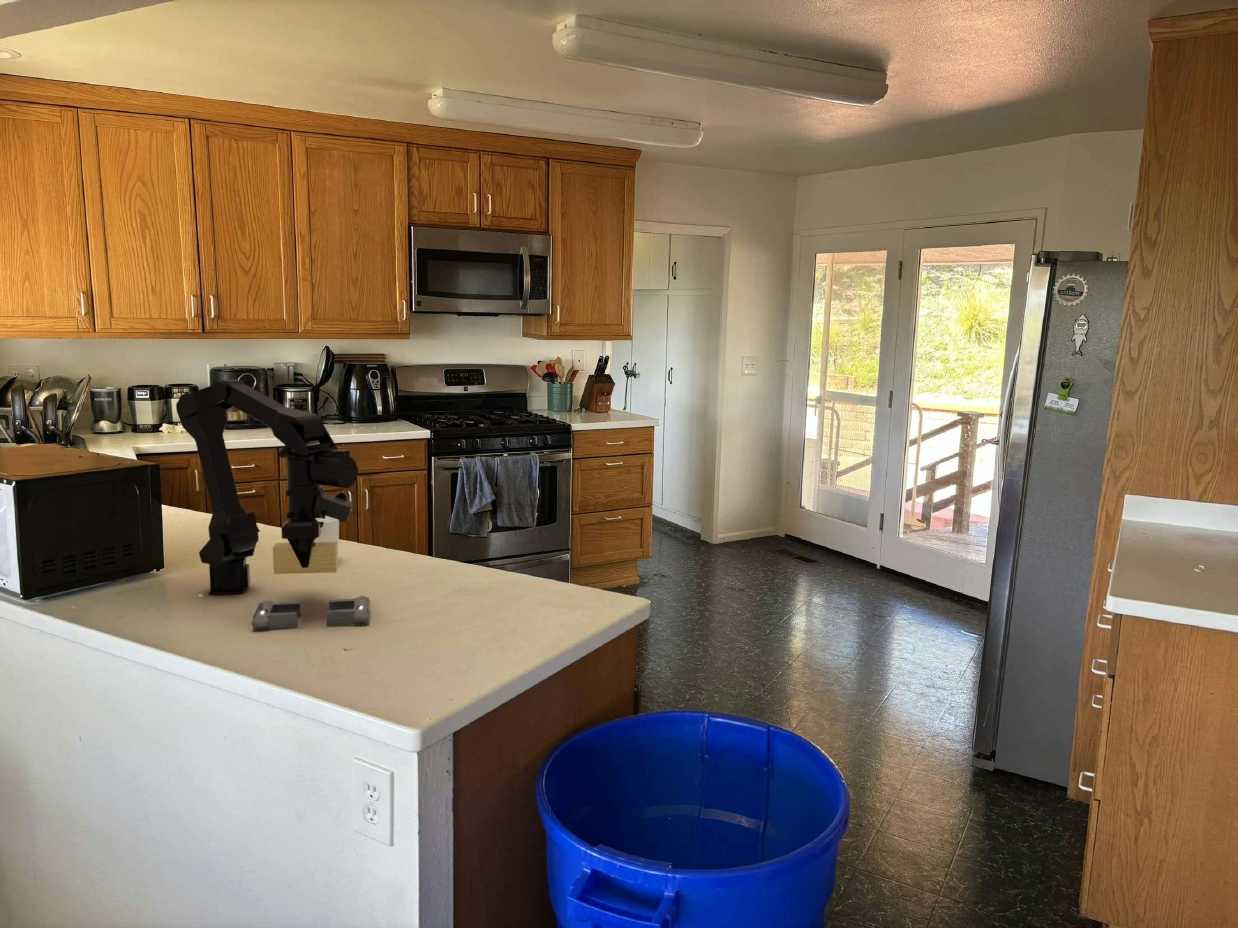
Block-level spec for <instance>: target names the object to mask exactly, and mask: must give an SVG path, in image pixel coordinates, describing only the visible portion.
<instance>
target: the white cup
mask: <svg viewBox="0 0 1238 928" xmlns="http://www.w3.org/2000/svg"><path fill="white" fill-rule="evenodd" d="M316 520H317V521H318V522H324V524H323V526H322V527H321V528H320V531H321V533H320V536H319V537H318V538H316V539H315V540H314V542H338V543H340V542H339V541H340V540H339V539H340V537H339V536H340V535H339V534H340V521H339V520H338V519H335V518H331V517H328V516H326V517H325V519H322V518H316Z"/></svg>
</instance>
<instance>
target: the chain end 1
mask: <svg viewBox="0 0 1238 928" xmlns="http://www.w3.org/2000/svg"><path fill="white" fill-rule="evenodd" d="M301 603H302V602H301V601H282V602H281V601H280V602H279V601H278V602H277V601H276V602H275V601H272V600H269V599H268V600H266V599H265V600H263V601H262V602H259V603H258V604H257V607H256V609H255V612H254V613H253V615H252V621H251V626H252V629H253V630H252V631H253V632H262V631H263V632H264V631H269V630H281V629H282V630H283V629H297V628H298V618H300V617H301V616H302V611H301V610H302V607H301Z"/></svg>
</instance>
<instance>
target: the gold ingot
mask: <svg viewBox="0 0 1238 928" xmlns="http://www.w3.org/2000/svg"><path fill="white" fill-rule="evenodd" d="M272 555H273V556H272V561H273V562H272V563H273V565H272V566H273V575H281V574H283V575H284V574H285V575H289V574H320V573H321V574H327V573H328V574H329V573H337V571H338V570H339V569H338V568H339V542H313V543H312V548H311V554H310V560H309V566H308V567H307V568H302V566H301V565H300V563H299V561H298V559H297V557H296V555H295V553H294V551H293V549H292V547H291V545H290V543H289V542H276V543H275V544H274V546H273V547H272Z"/></svg>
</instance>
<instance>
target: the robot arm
mask: <svg viewBox="0 0 1238 928" xmlns="http://www.w3.org/2000/svg"><path fill="white" fill-rule="evenodd" d="M180 395H181V396H180V397H179V398H178V401H177V402H176V405H175V408H176V413H177V416H178V418H179V421H180V423H181V426H182V428H183V429H184V430H185V431H186V432H187V434H189V435H190V436H191V438H192V439H194V441H195V445H196V448H197V452H198V457H199V460H200V464H201V465H200V466H201V468H202V472H203V477H204V481H205V484H206V489H207V492H208V497H209V500H210V505H211V508H212V515H211V518H210V522H209V524H208V529H207V530H208V537H209V540H208V541H207V542H206V544H204V545H203V547H202V548H201V549H200V551H199V552H198V554H199V559H200V561H201V563H202V564H206V565H209V566H208V569H209V590H208V593H207V594H208V595H213V596H214V595H232V594H244V593H245V592H246V590H247V589H248V588H249V586H250V585H251V572H250V564H249V563H247V558H249V557H253V556H254V554H255V550H256V546H257V543H258V542H259V533H260V529H259V526H258V524H257V518H256V515H255V513H254V512H253V511H252V512H248V511H246V510H245V509H244V508H243V507H242V505H241V503H240V499H239V495H238V490H237V486H236V482H235V478H234V474H233V471H232V466H231V463H230V458H229V455H228V451H227V447H226V442H225V438H224V432H225V428H226V425H227V422H228V413H227V412H228V411H230V410H231V409H233V408H235V409H237V410H239V411H240V412H242V413H244V414H246V415H247V416H249V417H251V418H253V419H254V420H256V421H259V422H260V423H261V424H264V425H265V426H267V427H268V428H270V430H271V432H272V435H273V436H274V437H275V438H276V439H277V440H278V441H280V442H281V443H282V444H283V445H284V447H283V448H282V449H280V451H278V452H277V454H276V455H277V457H278V458H283V459H286V475H287V476H286V477H287V489H286V491H285V492H286V493H285V494H286V495H285V496H286V497H287V512H286V518H287V520H286V521H285V522H284V523H283V524H282V526H281V539H283V540H286V541H288V543H290V545H291V547H292V549H293V551H294V553H295V555H296V557H297V559H298V561H299V563H300V565H301V566H302V568H307V567H308V566H309V560H310V554H311V548H312V543H313V542H314V540H315V539H316V538H318V537H319V536H320V533H321V531H320V528H321V527H322V526H323V524H324V522H318V521H317V520H316V518H322V519H325V517H326V516H328V517H331V518H335V519H338V520H339V522H341V523H347V522H348V520H349V518H350V516H351V515H350V514H351V512H352V509H353V506H354V503H353V502H352V501H351V500H348V496H347V495H348V493H346V492H343V491H340V490H339V491H338V492H337V493H335V494H334V495H333V494H330V495H329V494H325V493H324V487H325V486H327V487H334V488H343V489H349V488H351V487H352V486H353V485H354V484H355V483H356V481H357V479H358V475H359V467H358V465H357V463H356V461H355V459H354V458H353V457H351V451H350V450H348V449H338V447H337V445H336V443H335V442H334V440H333V438H332V437H331V434H330V433H329V431H328V429H327V428H326V426H325V425H324V424H325V423H324V420H323V418H322V417H321V416H319V415H318V414H316V413H312V412H309V411H305V410H302V409H298V408H297V409H296V408H290V407H287V406H285V405H283V404H282V403H280V402H278V401H276V400H274V399H273V398H271V397H268V396H266V395H264V394H263V393H261V392H259V391H258V390H256V389H254V388H252V387H250V386H248V385H247V384H246V383H245V382H244V381H242V380H239V379H221V380H219V381H218V382H215V383H213V384H211V385H210V386H206V387H204V388H201V389H198V390H195V391H193V392H184V393H182V394H180ZM322 486H324V487H322Z"/></svg>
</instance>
